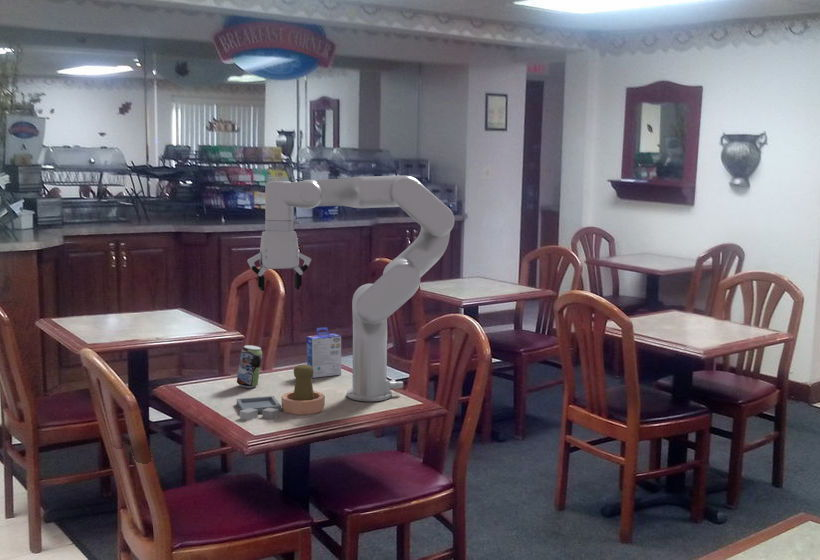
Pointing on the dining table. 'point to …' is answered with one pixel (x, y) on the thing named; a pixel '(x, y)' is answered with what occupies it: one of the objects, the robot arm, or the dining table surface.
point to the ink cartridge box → (324, 353)
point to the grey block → (270, 413)
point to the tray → (258, 403)
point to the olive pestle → (303, 383)
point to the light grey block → (248, 413)
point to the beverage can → (249, 366)
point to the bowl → (303, 404)
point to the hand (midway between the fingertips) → (279, 289)
